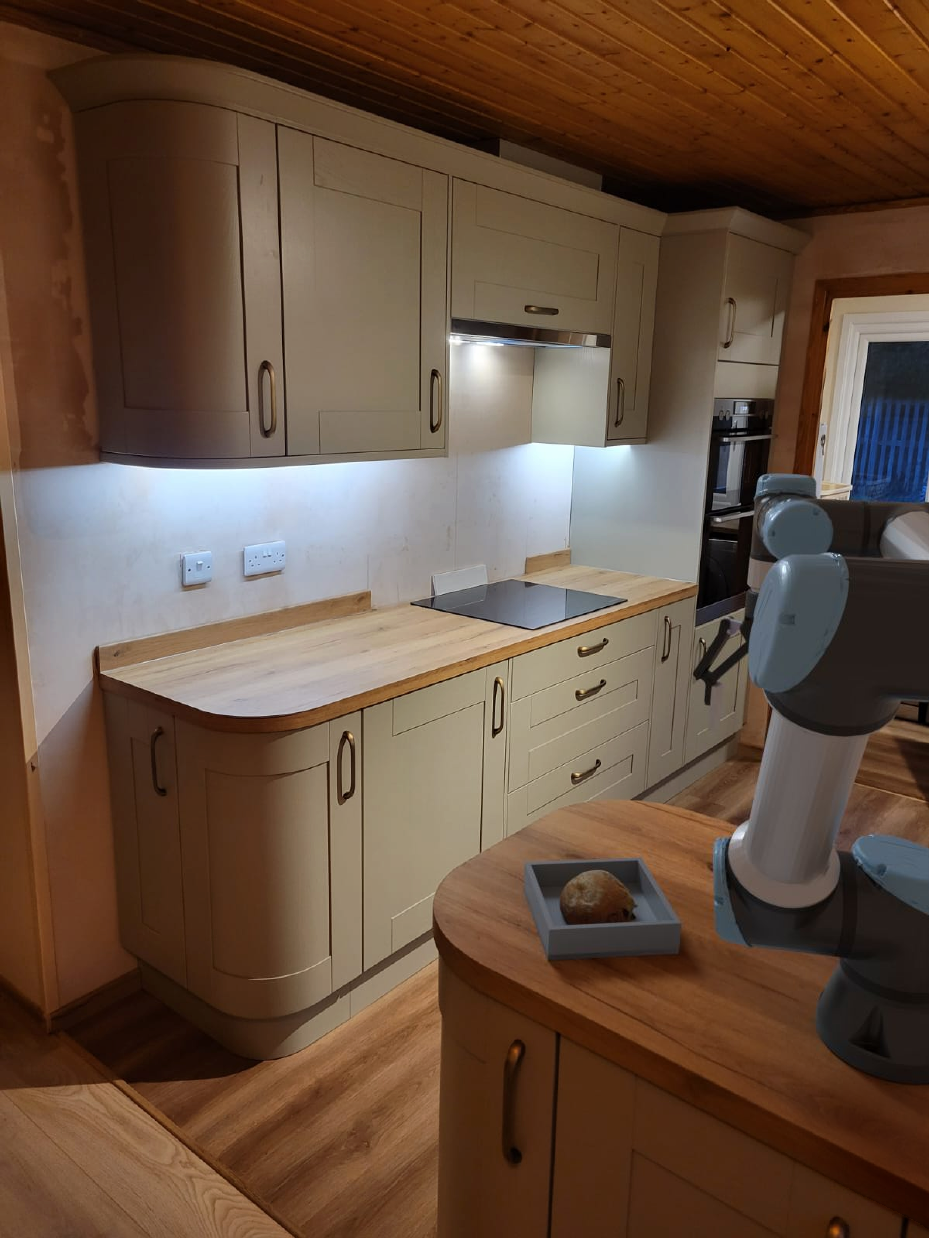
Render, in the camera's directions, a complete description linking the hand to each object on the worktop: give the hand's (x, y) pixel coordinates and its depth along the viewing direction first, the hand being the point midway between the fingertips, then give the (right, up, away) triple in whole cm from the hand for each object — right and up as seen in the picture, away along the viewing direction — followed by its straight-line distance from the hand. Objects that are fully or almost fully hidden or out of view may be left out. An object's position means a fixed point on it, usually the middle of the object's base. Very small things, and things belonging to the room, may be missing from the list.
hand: (760, 738), depth 131 cm
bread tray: (-23, -25, 0) cm, 34 cm away
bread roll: (-23, -25, -1) cm, 34 cm away
